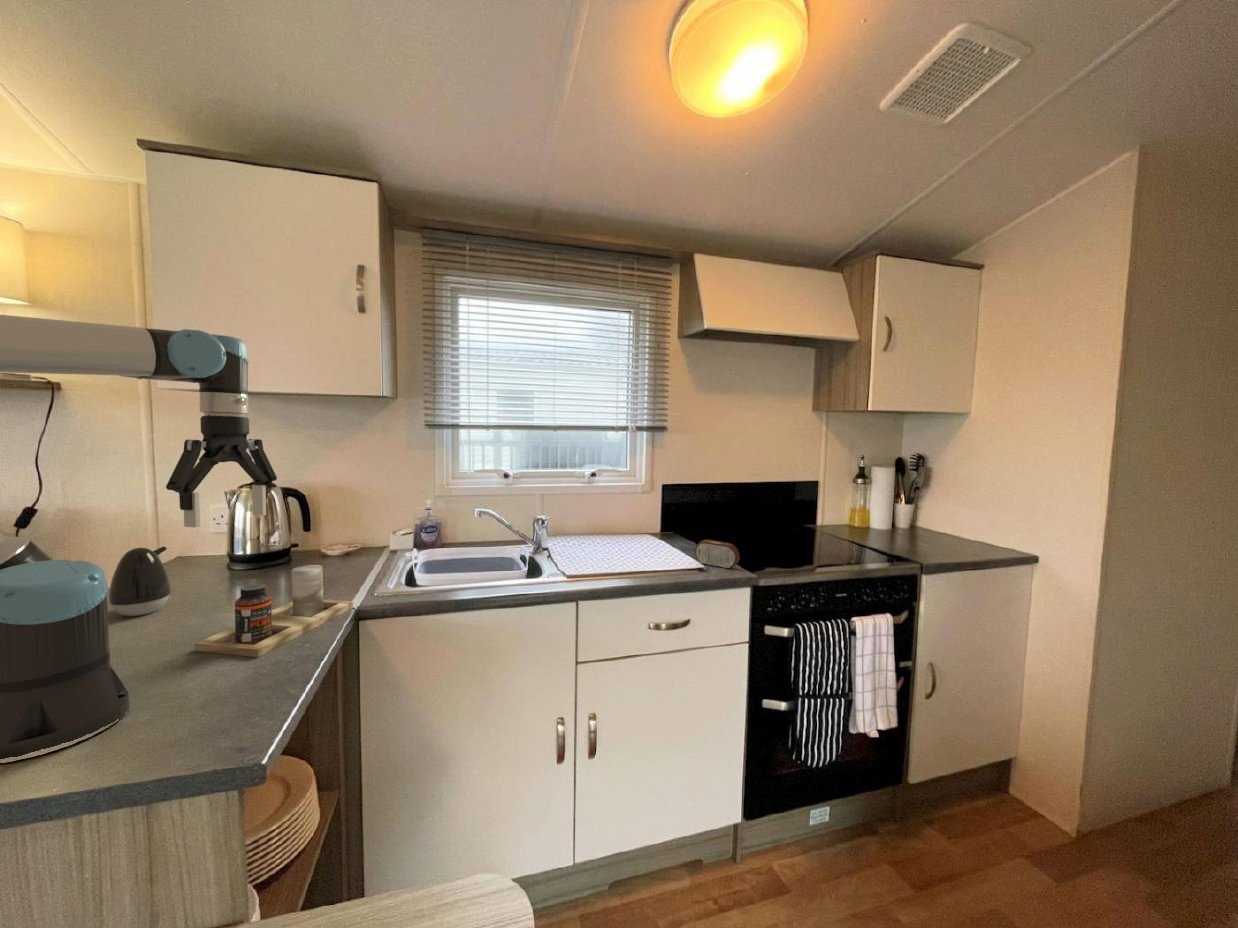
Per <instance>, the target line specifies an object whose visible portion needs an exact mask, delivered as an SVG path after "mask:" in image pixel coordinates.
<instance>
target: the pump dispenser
mask: <svg viewBox="0 0 1238 928" xmlns="http://www.w3.org/2000/svg"><path fill="white" fill-rule="evenodd" d="M167 549H168V548H167V547H166V546H161V547H158V548H157V549H155V550H151V549H150V548H147V547H136V548H135V547H134V548H132V549H129V550H128V551H127V552H125V553H124V555H123V556H122V557H121V558H120V560H119V561H118V563H117V564H116V568H115V570H114V572H113V575H112V578H111V582H110V586H109V590H108V593H109V594H108V603H109V604H110V605H111V607H112V609H113V610H114V611H115V612H116V613H117V614H118V615H121V616H126V617H138V616H144V615H148V614H152V613H154V612H156V611H158V610H160V609H161V608H162V607H163V606H164V605H165V604H166V603H167V602H168V600H169V596H170V595H171V593H172V589H171V588H172V587H171V581H170V579H169V576H168V573H167V570H166V568H165V565H164V563H163V562H162V560H161V559H160V557H159V556H160V554H162V553H163V552H166V550H167Z"/></svg>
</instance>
